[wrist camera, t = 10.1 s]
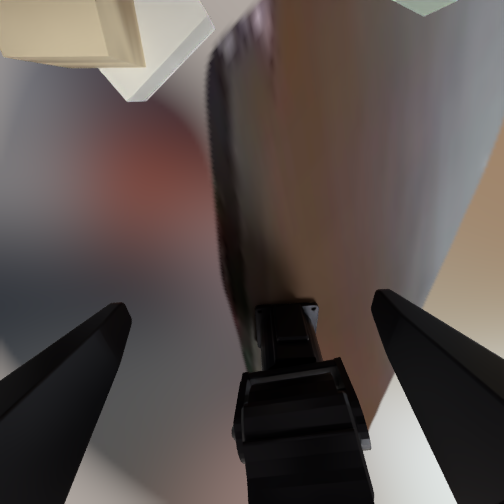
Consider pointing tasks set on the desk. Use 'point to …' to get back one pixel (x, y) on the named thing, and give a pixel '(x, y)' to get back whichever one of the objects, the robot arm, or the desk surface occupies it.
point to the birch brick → (72, 33)
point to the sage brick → (425, 5)
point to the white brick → (161, 45)
